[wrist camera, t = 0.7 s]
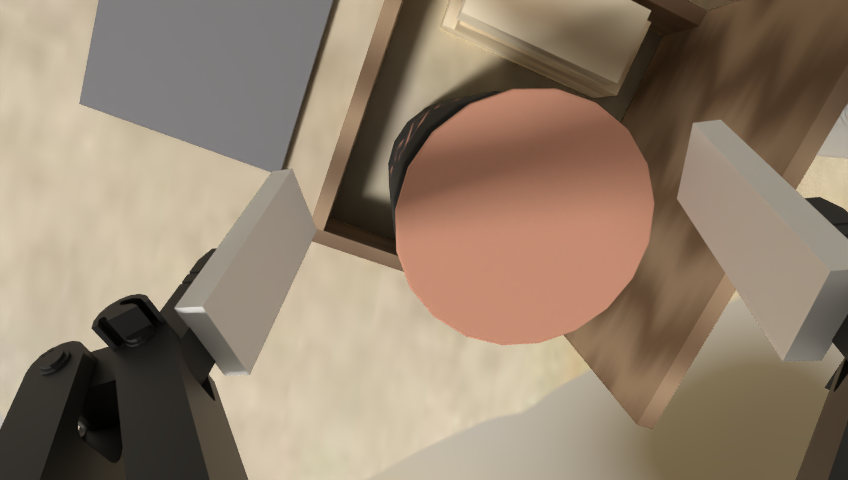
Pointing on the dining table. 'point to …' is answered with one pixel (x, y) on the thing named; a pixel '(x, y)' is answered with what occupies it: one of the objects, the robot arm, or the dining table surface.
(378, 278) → the dining table surface
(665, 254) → the wooden hinged box
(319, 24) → the charcoal mat
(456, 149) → the coffee jar
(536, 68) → the offcut stack
